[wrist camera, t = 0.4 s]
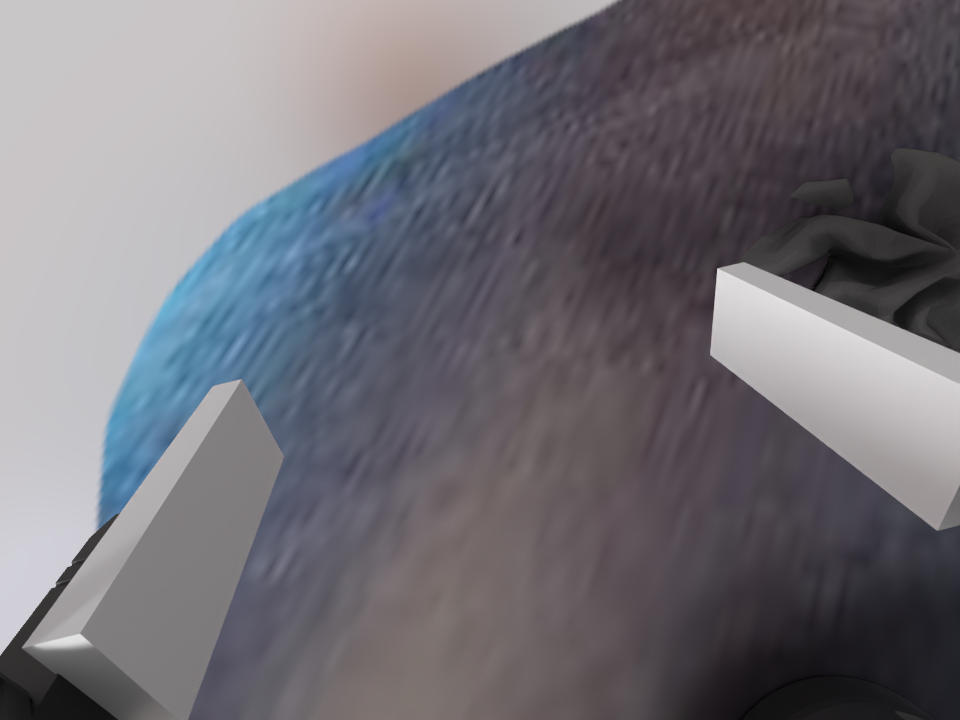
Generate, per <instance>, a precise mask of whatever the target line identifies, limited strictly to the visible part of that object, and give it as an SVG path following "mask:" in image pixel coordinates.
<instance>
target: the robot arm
mask: <svg viewBox="0 0 960 720" xmlns="http://www.w3.org/2000/svg"><path fill="white" fill-rule="evenodd" d="M710 355H711V356H712V357H714V358H715V359H716V360H718V361H719V362H720V363H722V364H723V365H724V366H725V367H727V368H728V369H729V370H731V371H732V372H733V373H734V374H736V375H737V376H738V377H740V378H741V379H742V380H743V381H745V382H746V383H747V384H749V385H750V386H751V387H752V388H754V389H755V390H756V391H758V392H759V393H760V394H762V395H763V396H764V397H765V398H767V399H768V400H769V401H771V402H772V403H773V404H774V405H776V406H777V407H778V408H780V409H781V410H782V411H783V412H785V413H786V414H787V415H789V416H790V417H791V418H792V419H794V420H795V421H796V422H798V423H799V424H800V425H802V426H803V427H804V428H805V429H807V430H808V431H809V432H811V433H812V434H813V435H814V436H816V437H817V438H818V439H820V440H821V441H822V442H823V443H825V444H826V445H827V446H829V447H830V448H831V449H832V450H834V451H835V452H836V453H838V454H839V455H840V456H842V457H843V458H844V459H845V460H847V461H848V462H849V463H851V464H852V465H853V466H854V467H856V468H857V469H858V470H860V471H861V472H862V473H863V474H865V475H866V476H867V477H869V478H870V479H871V480H872V481H874V482H875V483H876V484H878V485H879V486H880V487H882V488H883V489H884V490H885V491H887V492H888V493H889V494H891V495H892V496H893V497H894V498H896V499H897V500H898V501H900V502H901V503H902V504H903V505H905V506H906V507H907V508H909V509H910V510H911V511H912V512H914V513H915V514H916V515H918V516H919V517H920V518H922V519H923V520H924V521H925V522H927V523H928V524H929V525H931V526H932V527H933V528H934V529H936V530H937V531H939V530H942V529H946V528H950V527H954V526H958V525H960V348H954V349H953V348H952V345H950V344H947V343H945V342H943V341H940V340H938V339H935V338H933V337H931V336H928V335H926V334H923V333H919V332H915V331H910V330H906V329H902V328H899V327H896V326H894V325H892V324H889V323H887V322H885V321H882V320H880V319H877V318H875V317H873V316H870V315H868V314H866V313H863V312H861V311H859V310H856V309H854V308H851V307H849V306H847V305H844V304H842V303H840V302H837V301H835V300H832V299H830V298H828V297H825V296H823V295H821V294H818V293H816V292H814V291H811V290H809V289H806V288H804V287H802V286H799V285H797V284H795V283H792V282H790V281H787V280H785V279H783V278H780V277H778V276H776V275H773V274H771V273H769V272H766V271H764V270H761V269H759V268H757V267H754V266H752V265H750V264H747V263H745V262H743V263H739V264H734V265H730V266H726V267H721V268H718V269H717V281H716V292H715V304H714V316H713V328H712V340H711V351H710ZM283 458H284V456H283V454H282V452H281V451H280V449H279V447H278V445H277V443H276V441H275V439H274V438H273V436H272V434H271V432H270V430H269V428H268V426H267V425H266V423H265V421H264V419H263V417H262V415H261V413H260V412H259V410H258V408H257V406H256V404H255V402H254V400H253V399H252V397H251V395H250V393H249V391H248V389H247V387H246V386H245V384H244V382H243V380H242V379H241V380H236V381H232V382H228V383H223V384H219V385H215V386H213V387H212V388H211V390H210V391H209V392H208V394H207V395H206V396H205V398H204V399H203V400H202V402H201V403H200V405H199V406H198V407H197V409H196V410H195V411H194V413H193V414H192V416H191V417H190V418H189V420H188V421H187V422H186V424H185V425H184V427H183V428H182V429H181V431H180V432H179V433H178V435H177V436H176V437H175V439H174V440H173V442H172V443H171V444H170V446H169V447H168V448H167V450H166V451H165V453H164V454H163V455H162V457H161V458H160V459H159V461H158V462H157V464H156V465H155V466H154V468H153V469H152V470H151V472H150V473H149V474H148V476H147V477H146V479H145V480H144V481H143V483H142V484H141V485H140V487H139V488H138V490H137V491H136V492H135V494H134V495H133V496H132V498H131V499H130V500H129V502H128V503H127V505H126V506H125V507H124V509H123V510H122V511H121V513H119V514H116V515H115V516H114V517H112V518H111V519H110V520H109V521H108V522H107V523H106V524H105V525H104V526H102V527H101V528H100V529H99V530H98V531H97V532H96V533H95V534H94V535H92V536H91V537H90V538H89V540H88V541H87V542H86V544H85V545H84V546H83V548H82V549H81V550H80V552H79V553H78V554H77V555H76V557H75V558H74V559H73V561H72V566H70V567H67V569H66V570H65V572H64V573H63V574H62V575H61V577H60V578H59V579H58V581H57V582H56V587H55V588H52V589H51V590H50V591H49V593H48V594H47V595H46V596H45V598H44V599H43V600H42V602H41V603H40V604H39V606H38V607H37V608H36V609H35V611H34V612H33V614H32V615H31V616H30V617H29V619H28V620H27V621H26V623H25V624H24V625H23V627H22V628H21V629H20V631H19V632H18V633H17V634H16V636H15V637H14V638H13V640H12V641H11V642H10V644H9V645H8V646H7V648H6V649H5V650H4V652H3V653H2V654H1V656H0V720H188V718H189V715H190V713H191V710H192V707H193V705H194V702H195V699H196V696H197V694H198V691H199V688H200V685H201V683H202V680H203V677H204V674H205V672H206V669H207V666H208V664H209V661H210V658H211V655H212V653H213V650H214V647H215V644H216V642H217V639H218V636H219V633H220V631H221V628H222V625H223V623H224V620H225V617H226V614H227V612H228V609H229V606H230V603H231V601H232V598H233V595H234V592H235V590H236V587H237V584H238V582H239V579H240V576H241V573H242V571H243V568H244V565H245V562H246V560H247V557H248V554H249V551H250V549H251V546H252V543H253V540H254V538H255V535H256V532H257V530H258V527H259V524H260V521H261V519H262V516H263V513H264V510H265V508H266V505H267V502H268V499H269V497H270V494H271V491H272V489H273V486H274V483H275V480H276V478H277V475H278V472H279V469H280V467H281V464H282V461H283ZM742 720H935V719H934V718H932V717H931V716H929V715H928V714H927V713H925V712H924V711H922V710H921V709H920V708H918V707H917V706H915V705H914V704H912V703H911V702H910V701H908V700H907V699H905V698H904V697H902V696H900V695H899V694H897V693H895V692H893V691H891V690H889V689H887V688H885V687H883V686H880V685H878V684H875V683H872V682H869V681H865V680H861V679H856V678H851V677H842V676H824V677H815V678H810V679H805V680H801V681H798V682H795V683H792V684H789V685H787V686H785V687H783V688H781V689H779V690H777V691H775V692H773V693H772V694H770V695H769V696H767V697H766V698H764V699H763V700H762V701H760V702H759V703H758V704H757V705H756V706H754V707H753V708H752V709H751V710H750V711H749V712H748V713H747V715H746V716H745V717H744V718H743V719H742Z"/></svg>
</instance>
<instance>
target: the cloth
mask: <svg viewBox="0 0 960 720" xmlns="http://www.w3.org/2000/svg"><path fill="white" fill-rule="evenodd" d="M891 159H892V163H893V167H894V171H895V177H894V183H893V187H892V189H891V192H890V194H889V196H888V199H887V201H886V203H885V205H884V206H883V208H882V210H881V213H880V216H879V220H878V224H874V223H870V222H866V221H862V220H858V219H853V218H848V217H843V216H835V215H818V216H814V217H800V218H799V219H797V220H795V221H791V222H789V223H788V224H786V225H785V226H783V227H782V228H781V229H779V230H778V231H777V232H773V233H770V234H766V235H763V236H762V237H761V238H760V239H759V240H758V241H757V242H756V243H755V244H754V245H753V246H752V247H751V248H750V249H749V250H748V251H747V252H746V253H745V254H744V255H743V256H742V258H741V259H740V260H739V261H738V262H737V263H736V264H739V263H743V262H745V263H747V264H750V265H752V266H754V267H757V268H759V269H761V270H764V271H766V272H769V273H771V274H773V275H776V276H778V277H781V276H784V275H786V274H788V273H790V272H792V271H794V270H796V269H798V268H800V267H802V266H804V265H807V264H809V263H811V262H813V261H815V260H818V259H820V258H822V257H823V256H824V255H825V254H826V253H827V252H828V251H830V254H831V256H830V257H829V258H828V261H827V267H826V270H825V273H824V276H823V278H822V279H821V281H820V282H819V284H818V286H817V287H816V289H815V290H814V292H816V293H818V294H821V295H823V296H825V297H828V298H830V299H832V300H835V301H837V302H840V303H842V304H844V305H847V306H849V307H851V308H854V309H856V310H859V311H861V312H863V313H866V314H868V315H870V316H873V317H875V318H877V319H880V320H882V321H885V322H887V323H889V324H892V325H893V320H894V321H895V322H897V324H898V325H899V326H900V327H901V328H902V329H906V330H910V331H915V332H919V333H923V334H926V335H928V336H931V337H933V338H935V339H938V340H940V341H943V342H945V343H947V344H950V345H952V348H953V349H954V348H960V162H958V161H956V160H954V159H952V158H950V157H947V156H945V155H943V154H941V153H937V152H929V151H922V150H915V149H908V148H899V149H897V150H895V151H894V153H893V154H892V155H891ZM790 195H791V197H793V198H797V199H800V200H803V201H806V202H808V203H811V204H813V205H816V206H827V207H831V208H833V209H834V210H839V209H842V208H845V207H847V206H849V205H851V204H852V203H853V199H854V194H853V191H852V188H851V186H850V183H849V180H848V179H837V180H827V181H815V182H805V183H804V184H803V185H802V186H801V187H799V188H798V189H797V190H796V191H794V192H793V193H792V194H790Z"/></svg>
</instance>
